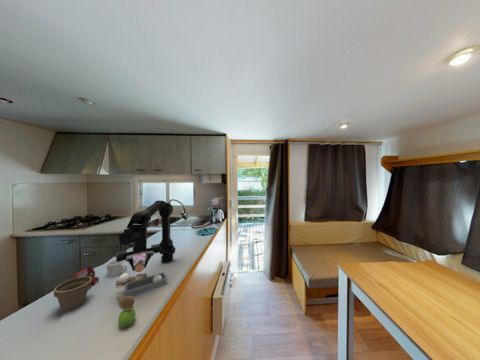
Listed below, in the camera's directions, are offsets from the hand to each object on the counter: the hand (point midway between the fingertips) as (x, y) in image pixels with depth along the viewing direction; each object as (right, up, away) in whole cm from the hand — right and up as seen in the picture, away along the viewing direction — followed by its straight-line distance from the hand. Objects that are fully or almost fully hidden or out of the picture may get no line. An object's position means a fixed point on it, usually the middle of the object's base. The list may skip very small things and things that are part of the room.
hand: (139, 269), depth 80 cm
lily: (-19, -11, +31) cm, 38 cm away
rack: (-8, -11, +7) cm, 15 cm away
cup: (-20, -11, +13) cm, 26 cm away
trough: (+3, -11, +1) cm, 11 cm away
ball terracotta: (0, -1, 0) cm, 1 cm away
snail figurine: (+7, -10, -19) cm, 23 cm away
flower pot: (-22, -10, -11) cm, 26 cm away
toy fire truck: (-28, -11, +1) cm, 30 cm away
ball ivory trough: (+7, -10, +4) cm, 13 cm away
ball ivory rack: (-11, -10, +5) cm, 15 cm away
